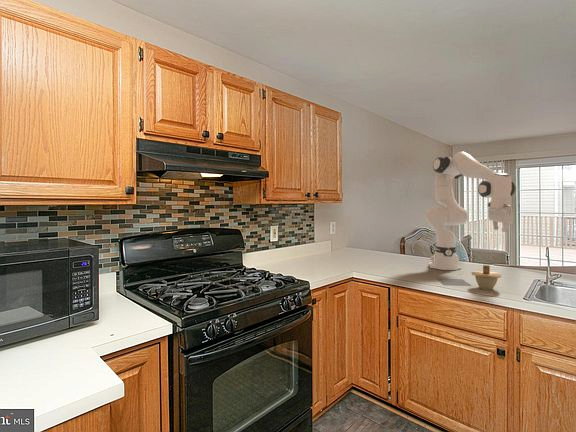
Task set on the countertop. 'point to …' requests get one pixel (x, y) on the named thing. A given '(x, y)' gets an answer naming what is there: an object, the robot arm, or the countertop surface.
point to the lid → (486, 273)
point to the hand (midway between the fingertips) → (500, 230)
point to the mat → (454, 282)
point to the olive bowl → (486, 282)
